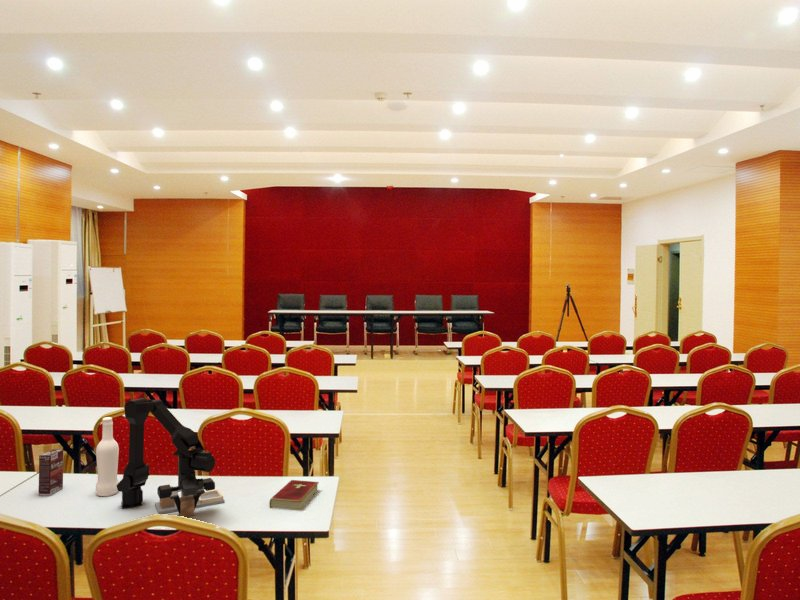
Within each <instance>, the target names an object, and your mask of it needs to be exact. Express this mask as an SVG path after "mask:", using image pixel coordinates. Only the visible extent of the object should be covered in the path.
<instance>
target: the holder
mask: <svg viewBox="0 0 800 600" xmlns="http://www.w3.org/2000/svg"><path fill="white" fill-rule="evenodd" d="M171 487H174V486H172V485H171ZM188 496H191V495H188ZM192 496H193V495H192ZM180 497H185V496H183V493H182V491H180ZM219 504H220V505H221V504H225V499H224V495H223V494H222V493H221V491H220V490H219V489H214V490H209V491H206V490H205V493H203V494H202V495H201V496H200V497H199V499H198V502H197V505H196V508H195V509H198V508H203V507H204V508H205V507H209V506H213V505H219ZM154 506H155V509H156V511H157V514H158V513H159V514H160V515H164V514H170V513H176V512H178V510H177V507H176V504H175V501H174V499H170V497H168V498H162V499H161V498H159V501H157V502H154ZM159 514H158V515H159Z"/></svg>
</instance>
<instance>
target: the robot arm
mask: <svg viewBox="0 0 800 600" xmlns="http://www.w3.org/2000/svg"><path fill="white" fill-rule="evenodd" d="M150 413H151V414H152V415H153V417H154V418H155V419H156V420H157V421H158V422H159V423H160V425H161V426H162V427H163V428H164V429H165V430H166V431H167V432H168V433H169V434H170V436H171V442H172V443H173V446H174V447H175V449H176V450H175V452H173V453H172V455H173V456H176V457H178V458H177V462H178V463H177V466H178V467H177V486H173V487H172V486H171V485H170V484H164V485H159V486H158V487H157V496H158V498H159V499H160V498H161V499H162V498H168V497H170V499H174V501H175V504H176V507H177V510H178V511H177V512H178V514H179V513H180V502H179V497H180V495H179V493H181V491H182V493H183V496H188V495H193V498H194V511H196V509H197V508H196V505H197V502H198V499H199V497H200V496H201V495H202V494H203V493H205V492H206V491H212V490H216V483H215V480H213V479H212V478H211V477H208V478H203V477H201V478H197V476H196V471H199V472H206V473H210V472H212V471H213V470H214V468H215V466H216V459H215V457H214V455H212V451H205V447H204V445H203V443H202V442H201V440H200V438H199V436H198V434H197V433H196V432H195V431H194V430H192V429H191V428H189V427H186V426H184V425H183V424H182V423H181V422H180V421H179V419H177V418H176V416H175V415H174V414H173V413H172V412H171V411H170V410H169V408H167V406H165V404H164V401H163V400H160V399H146V397H141V398H137V399H132V400H128V401H127V402H126V403H125V404H124V416H125V419H126V420H127V422H128V423H129V429H128V430H129V433H128V434H129V435H128V436H129V437H128V441H129V442H128V463H127V464H126V466H125V467H124V469H123V475H122V478H121V480H120V481H118V482H119V483H118V484H117V490H118V492H121V502H120V504H121V509H128V508H134V507H140V506H142V505H143V502H144V500H143V499H144V495H143V494H144V492H143V491H144V490H143V489H142V487H143V486H145V485H146V483H147V480H148V478H149V476H150V464H146V462H145V460H144V451H145V448H144V447H145V446H144V445H145V422H146V420H147V418H148V417H149V416H150V415H149V414H150Z"/></svg>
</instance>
